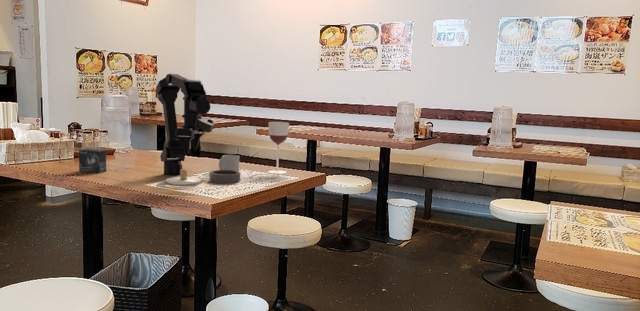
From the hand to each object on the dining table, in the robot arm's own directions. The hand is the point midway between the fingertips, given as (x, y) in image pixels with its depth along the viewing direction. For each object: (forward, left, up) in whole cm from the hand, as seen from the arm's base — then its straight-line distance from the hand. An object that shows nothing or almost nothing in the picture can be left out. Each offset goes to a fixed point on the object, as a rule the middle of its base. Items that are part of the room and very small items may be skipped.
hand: (191, 152), depth 191 cm
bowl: (+12, +6, -12) cm, 18 cm away
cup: (+9, +20, -12) cm, 25 cm away
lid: (-2, -2, -12) cm, 12 cm away
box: (-47, +10, -13) cm, 50 cm away
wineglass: (+27, +38, -12) cm, 48 cm away
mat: (-2, -2, -12) cm, 13 cm away
